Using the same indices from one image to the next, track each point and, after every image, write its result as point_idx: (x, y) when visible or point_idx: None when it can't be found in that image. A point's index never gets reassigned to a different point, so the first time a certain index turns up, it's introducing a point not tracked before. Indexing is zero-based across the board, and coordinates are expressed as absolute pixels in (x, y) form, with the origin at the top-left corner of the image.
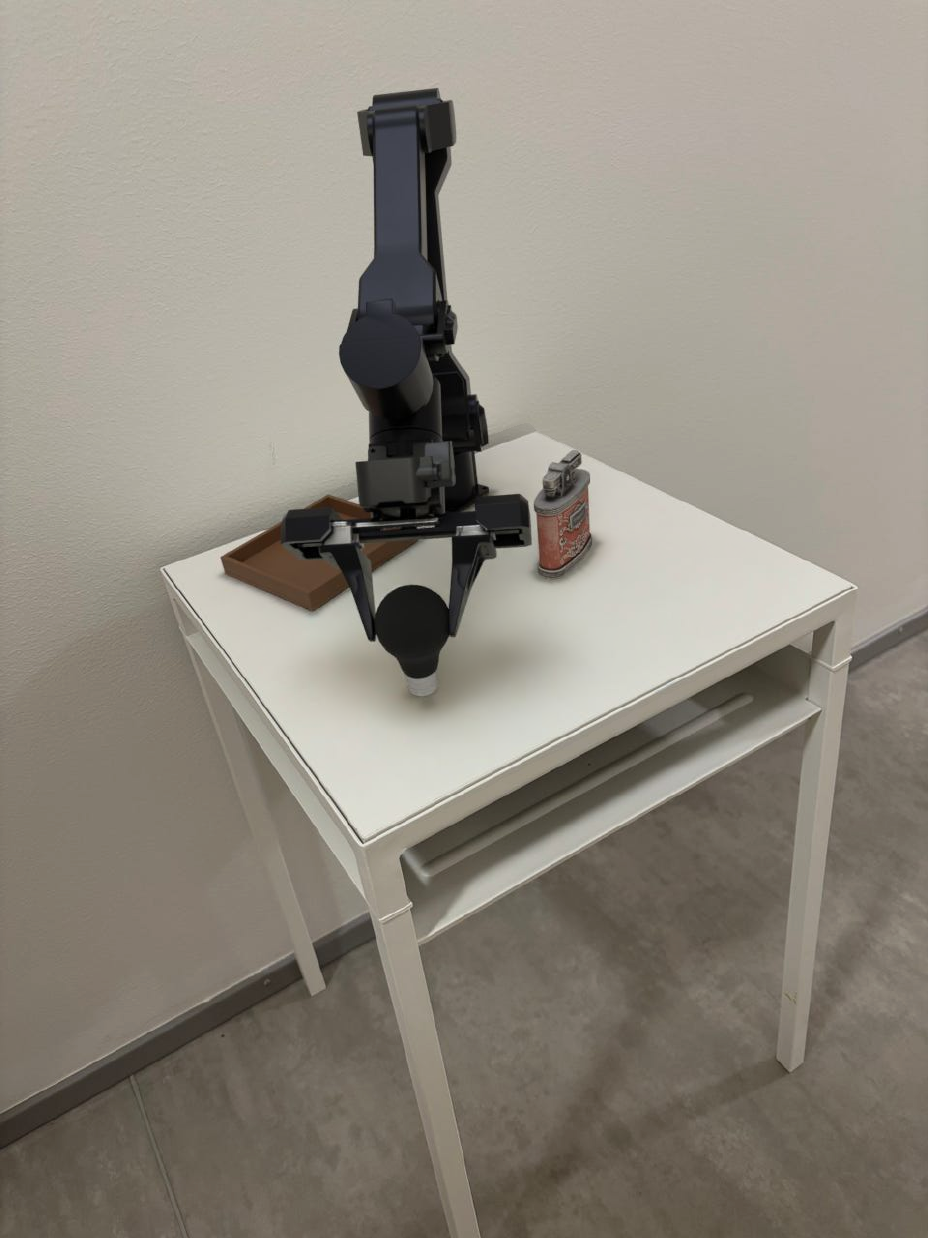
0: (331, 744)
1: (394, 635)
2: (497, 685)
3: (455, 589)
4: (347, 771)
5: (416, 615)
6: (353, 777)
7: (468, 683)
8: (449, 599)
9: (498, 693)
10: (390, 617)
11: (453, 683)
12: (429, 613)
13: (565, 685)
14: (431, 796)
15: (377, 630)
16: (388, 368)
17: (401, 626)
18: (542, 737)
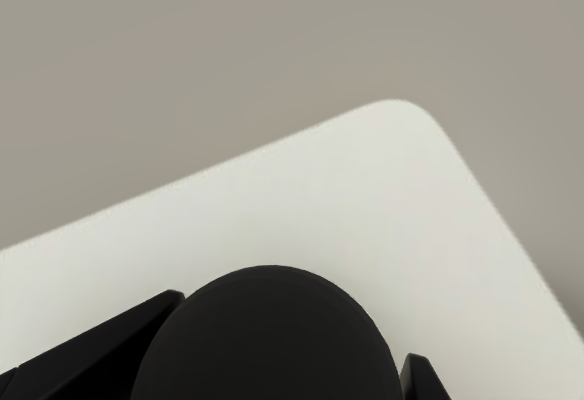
0: (478, 270)
1: (336, 290)
2: None
3: (41, 379)
4: (444, 200)
5: (239, 295)
6: (433, 185)
7: None
8: (98, 360)
9: None
10: (339, 329)
11: None
12: (194, 308)
13: (81, 302)
14: (323, 129)
15: (393, 360)
16: None
17: (305, 284)
18: (158, 198)
